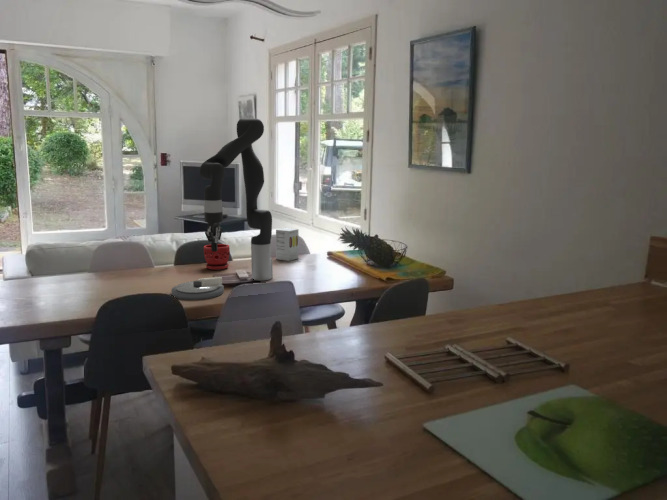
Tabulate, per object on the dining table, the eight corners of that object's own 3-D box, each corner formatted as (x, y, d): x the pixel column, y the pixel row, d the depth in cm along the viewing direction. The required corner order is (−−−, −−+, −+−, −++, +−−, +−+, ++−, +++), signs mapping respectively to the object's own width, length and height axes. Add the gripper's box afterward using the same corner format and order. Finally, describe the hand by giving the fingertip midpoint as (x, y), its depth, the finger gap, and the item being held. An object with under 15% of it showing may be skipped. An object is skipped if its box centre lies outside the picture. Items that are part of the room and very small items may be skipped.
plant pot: (235, 267, 298) (234, 244, 296) (217, 272, 287) (216, 248, 285) (216, 264, 305) (216, 242, 303) (198, 268, 294) (198, 245, 292)
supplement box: (288, 261, 314) (288, 231, 310) (275, 259, 319) (275, 229, 315) (299, 258, 322) (298, 228, 318) (286, 256, 326) (285, 227, 323)
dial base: (203, 283, 263) (203, 279, 263) (234, 292, 249) (233, 287, 249) (161, 293, 247) (161, 288, 247) (191, 302, 233) (191, 297, 232)
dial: (177, 295, 236) (177, 285, 236) (174, 284, 253) (174, 276, 252) (225, 291, 243) (224, 282, 242) (219, 281, 259) (218, 272, 259)
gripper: (215, 213, 232) (216, 254, 236) (228, 209, 245) (229, 248, 248) (198, 212, 234) (199, 253, 237) (211, 208, 247) (213, 248, 250)
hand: (214, 251), depth 243 cm, fingers closed
